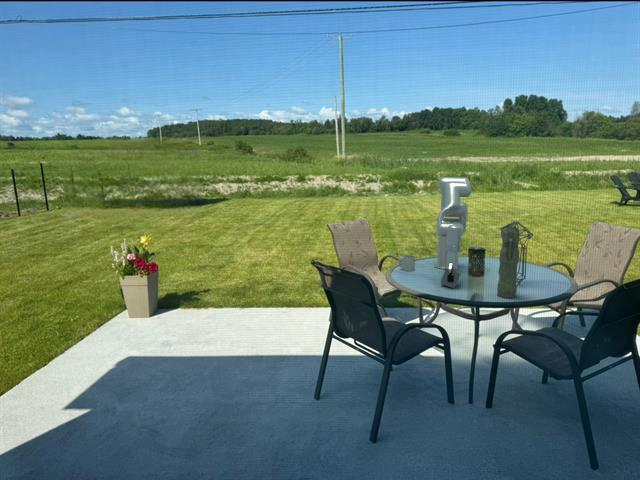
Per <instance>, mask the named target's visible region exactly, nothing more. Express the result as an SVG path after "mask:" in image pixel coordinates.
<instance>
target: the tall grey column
mask: <svg viewBox="0 0 640 480" xmlns="http://www.w3.org/2000/svg"><path fill="white" fill-rule="evenodd" d="M519 230H520V229H519ZM519 230H518V228H517V226H516V227H514V226H512V227H505V228H504V231H503V238H502V237H501V239H502V245H501V248H500V251H499V266H500V275H499V274H498V275H499V277H498V278H499V279H498V283H497V288H496V290H497V293H496V294H497V295H496V296H498V297H499V298H502V299H515V298H516V297H517V290H518V289H517V288H518V284H517V282H516V281H517V279H516V276H517V277H518V275H517V274H518V273H517V272H518V265H519V263H520V247H519V245H520V244H519V243H520V241H519V238H520V236H519V235H521V234H519V233H520V231H519ZM518 247H519V248H518Z"/></svg>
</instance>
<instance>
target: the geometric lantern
mask: <svg viewBox="0 0 640 480" xmlns="http://www.w3.org/2000/svg"><path fill="white" fill-rule="evenodd" d="M519 226H520V227H521V228H522V229H519ZM505 227H517V228H518V230H519V234H520V235H519V244H518V245H521V247H518V249H520V253H519V263H518V270H517V276H516V283H517V282H518V283H517V286H518V285H519V286H521V282H523V281H524V280H526V279H527V255H528V254H527V249H528V248H527V247H528V245H529V241H530V239H531V238H532V237H533V236H534V234H533V232H531V231H530V229H529V228H527V227H526V226H524V225H523V224H522V223H521V222H520V221H512V222H511V223H508V224H506V225H504V226H502V227H500V228H499V230H500V237H501V239H502V238H503V231H504V229H505ZM520 231H521V232H520ZM524 232H527V234H523V233H524ZM520 236H521V238H520ZM525 238H526V239H525ZM523 239H525V241H524V242H523V241H522V240H523ZM525 244H526V245H525ZM521 260H522V261H521ZM520 271H521V272H520ZM498 275H500V265H499V267H498ZM518 275H519V276H518ZM520 277H521V278H520Z"/></svg>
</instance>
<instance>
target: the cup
mask: <svg viewBox="0 0 640 480" xmlns="http://www.w3.org/2000/svg"><path fill="white" fill-rule="evenodd" d="M398 266H399V268H402V271H405V272H415V267H416V255H414V254H413V255H412V254H404V255H403V256H402V257H400V258H399V259H398Z"/></svg>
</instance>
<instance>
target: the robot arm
mask: <svg viewBox="0 0 640 480" xmlns="http://www.w3.org/2000/svg"><path fill="white" fill-rule="evenodd" d="M438 189H439V191H440V193H441V195H440V196H441V201H440V211H439V213H438V215H437V216H436V233H437V237H438V238H437V253H436V254H437V256H436V257H437V259H436V263H435V264H434V268H436V269H439V270H445V269H446V270H447V269H448V278H447V282H452V283H453V282H454V275H453V274H454V270H456V269H458V267H459V254H460V253H461V251H462V236H463V235H464V233H465V232H466V229H467V223H468V214H469V213H468V212H469V211H468V210H469V207H468V204H467V203H466V202H464V201H461V198H469V197H471V194H472V185H471V182H470V179H469V178H468V177H458V176H457V177H451V176H447V177H446V176H445V177H440V178H439V180H438ZM452 271H453V272H452Z"/></svg>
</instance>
